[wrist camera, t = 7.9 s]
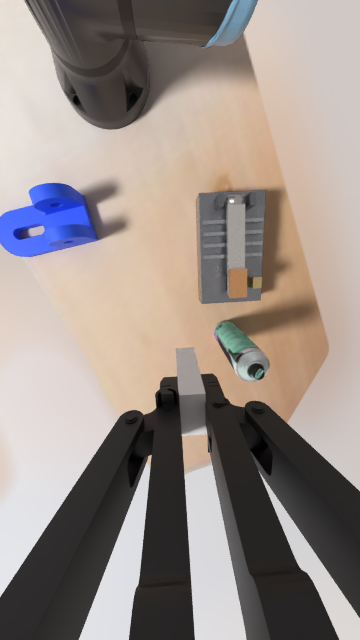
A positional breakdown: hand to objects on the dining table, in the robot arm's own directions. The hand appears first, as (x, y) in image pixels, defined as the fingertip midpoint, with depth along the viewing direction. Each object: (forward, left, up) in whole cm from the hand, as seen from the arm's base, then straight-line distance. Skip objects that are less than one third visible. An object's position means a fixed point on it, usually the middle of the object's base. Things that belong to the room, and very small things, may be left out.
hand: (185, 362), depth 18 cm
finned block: (-10, +11, -30) cm, 34 cm away
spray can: (+8, +11, -31) cm, 33 cm away
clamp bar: (-10, +11, -24) cm, 28 cm away
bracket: (-16, -25, -31) cm, 43 cm away
